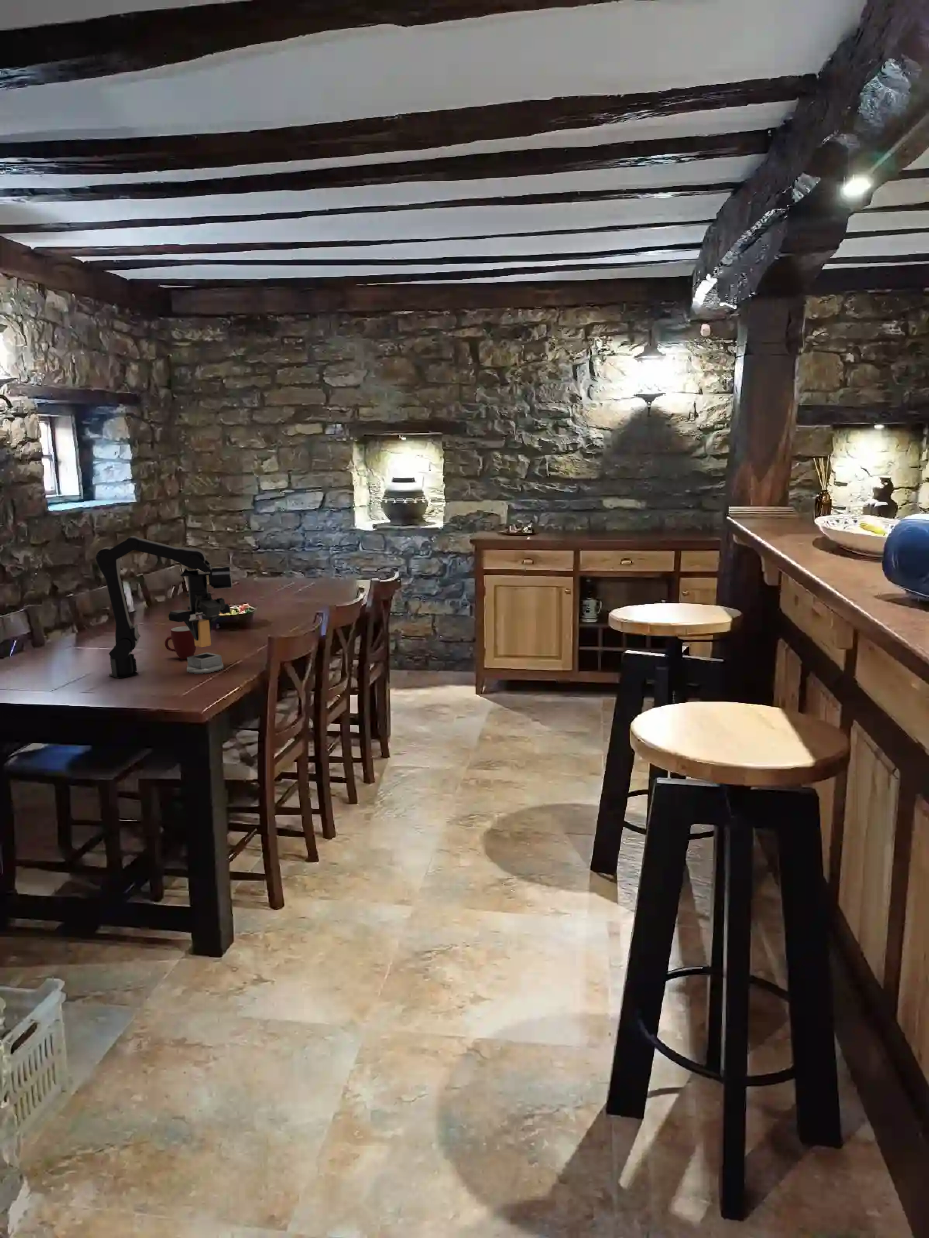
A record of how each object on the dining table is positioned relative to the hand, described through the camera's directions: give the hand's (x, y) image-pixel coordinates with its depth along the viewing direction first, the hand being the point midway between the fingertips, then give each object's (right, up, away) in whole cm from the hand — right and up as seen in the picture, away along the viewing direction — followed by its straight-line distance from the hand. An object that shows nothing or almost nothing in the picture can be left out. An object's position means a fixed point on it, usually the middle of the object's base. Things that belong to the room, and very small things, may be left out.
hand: (202, 639), depth 277 cm
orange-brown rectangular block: (0, -2, 0) cm, 2 cm away
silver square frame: (0, -9, +2) cm, 10 cm away
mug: (-12, -7, +17) cm, 22 cm away
